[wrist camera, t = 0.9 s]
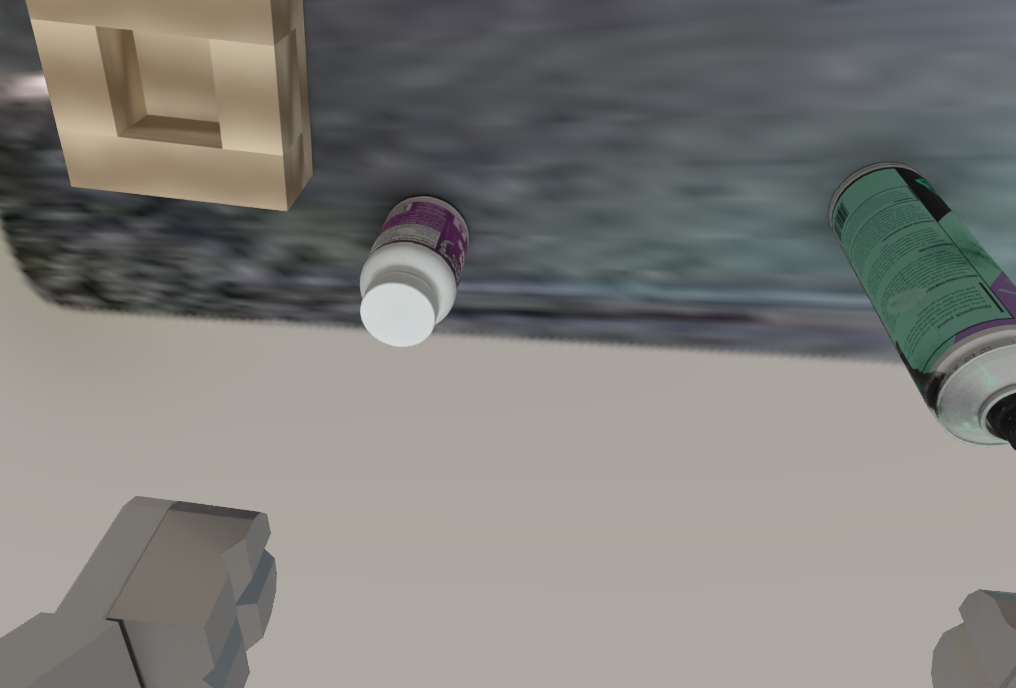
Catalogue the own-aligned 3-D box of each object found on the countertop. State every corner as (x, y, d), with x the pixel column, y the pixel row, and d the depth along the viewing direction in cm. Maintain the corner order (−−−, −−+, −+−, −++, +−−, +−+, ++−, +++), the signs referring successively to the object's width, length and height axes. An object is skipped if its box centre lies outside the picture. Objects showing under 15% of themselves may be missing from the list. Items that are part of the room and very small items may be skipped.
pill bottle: (471, 272, 51) (449, 362, 43) (388, 268, 51) (352, 356, 44) (470, 194, 48) (446, 275, 40) (381, 190, 48) (341, 269, 40)
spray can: (849, 264, 49) (981, 509, 32) (813, 193, 46) (935, 418, 30) (942, 220, 46) (1134, 458, 30) (909, 143, 44) (1098, 356, 28)
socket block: (69, -70, 41) (12, -54, 37) (300, -45, 41) (268, -26, 37) (115, 152, 48) (71, 186, 44) (312, 174, 48) (287, 211, 44)
